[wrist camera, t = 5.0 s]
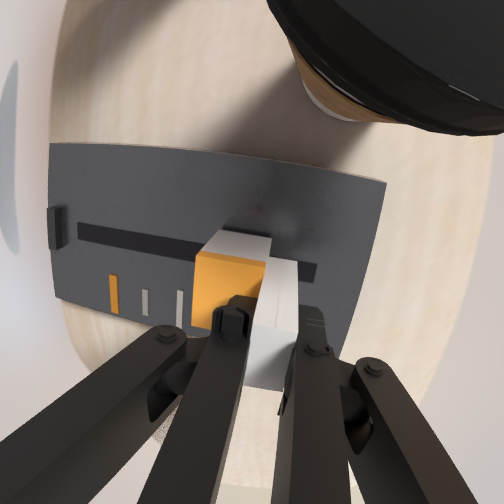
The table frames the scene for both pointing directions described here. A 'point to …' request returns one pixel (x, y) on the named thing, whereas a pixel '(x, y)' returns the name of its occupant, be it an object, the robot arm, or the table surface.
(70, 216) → the panel
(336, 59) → the coffee cup
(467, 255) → the table surface
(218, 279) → the fader tab
